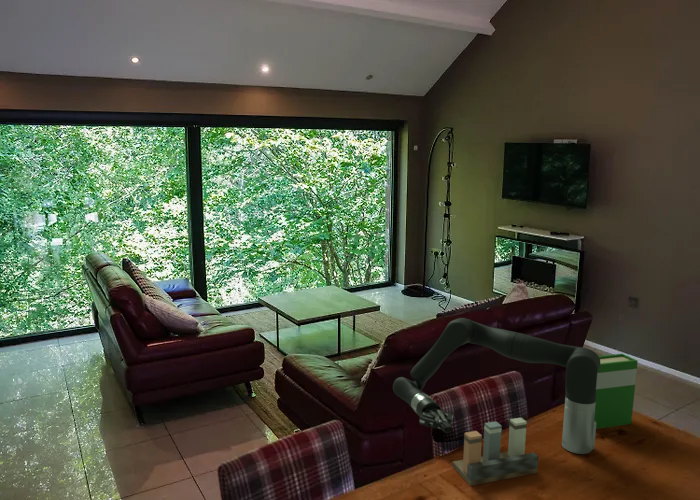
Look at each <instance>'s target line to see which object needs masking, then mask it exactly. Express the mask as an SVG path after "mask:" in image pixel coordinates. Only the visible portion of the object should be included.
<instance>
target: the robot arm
mask: <svg viewBox="0 0 700 500" xmlns="http://www.w3.org/2000/svg"><path fill="white" fill-rule="evenodd" d="M466 344H473V345H479V346H483V347H486V348H488V349H491V350H493V351H494V352H496V353H497V354H499V355H501V356H503V357H506V358H508V359H512V360H516V361H519V362H523V363H529V364H550V365H551V364H552V365H558V366H561V367H564V368H565V383H564V384H565V385H564V388H565V398H564V409H563V410H564V411H563V412H564V413H563V425H562V438H561V446H562V448H563V449H565V450H566V451H569V452H570V453H573V454H577V455H587V454H591V452H592V451H594V450H595V443H596V432H597V429H596V422H595V421H594V418H595V406H596V396H597V394H596V384H597V373H598V370H599V368H600V358H599V356H600V355H598V354H597V353H596V352H595V351H594V350H592V349H589V348H586V347H583V346H582V347H581V346H574V345H567V344H562V343H558V342H554V341H550V340H547V339H543V338H540V337H536V336H532V335H528V334H525V333H522V332H517V331H512V330H507V329H504V328H497V327H491V326H487V325H485V324H482V323H479V322H477V321H473V320H472V319H468V318H465V317H458V318H455V319H453V320H451V321H450V322H449V323H448V324H447V325H446V326H445V329H444V330H443V331H442V333H441V335H440V336H439V338H438V339H437V340H436V342H435V343H434V344H433V346H432V347H431V348H430V349H429V350H428V351H427V352H426V353H425V354H424V355H423V356H422V357H421V358H420V359H419V361H417V363H416V364H415V365H414V366H413V367H412V369H411V370H410V376H411V378H412V380H411V379H408V378H406V377H403V376H400V377H397V378H396V379H395V380H394V381H393V384H392V390H393V392H394V394H395V396H397V397H399V398H400V399H401V400H402V401H404V402H405V403H407V404H408V406H410V407H411V408H412V410H413V412H414V413H416V415H418V417H419V425H422V426H425V427H428V428H431V429H440V430H441V431H442V432H444V434H449V433H451V432H452V423H453V420H454V412H453V411H449V413H446V410H445V411H444V410H442V408H441V406H440V404H438V403H437V402H436V401H435V400H434V399H433V398H432V397H431V396H430V395H429V394H427V393H425V392H424V391H423V389H424V388H425V386H426V383H427V381H428V380H430V378H432V376H433V375H434V374H435V373H436V372H437V370H439V369H440V367H441V365H442V364H443V363H444V361H445V360H446V359H447V358H448V356H449V355H451V353H453V352H454V351H455V350H457V349H458V348H460V347H461V346H464V345H466Z"/></svg>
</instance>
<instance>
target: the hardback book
mask: <svg viewBox="0 0 700 500" xmlns="http://www.w3.org/2000/svg"><path fill="white" fill-rule="evenodd" d="M598 356H599V358H600V368H599V370H598V373H597V384H596V394H597V396H596V406H595V418H594V421H595V422H596V430H598V429H599V430H600V429H603V428H612V427H618V426H619V427H620V426H625V425H626V426H627V425H632V419H633V413H634V411H633V409H634V401H635V400H634V399H635V392H636V380H637V373H638V372H637V370H638V362H639V361H638V360H637V359H635V358H633V357H631V356H629V355H626V354H624V353H614V354H607V355H606V354H605V355H598Z"/></svg>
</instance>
